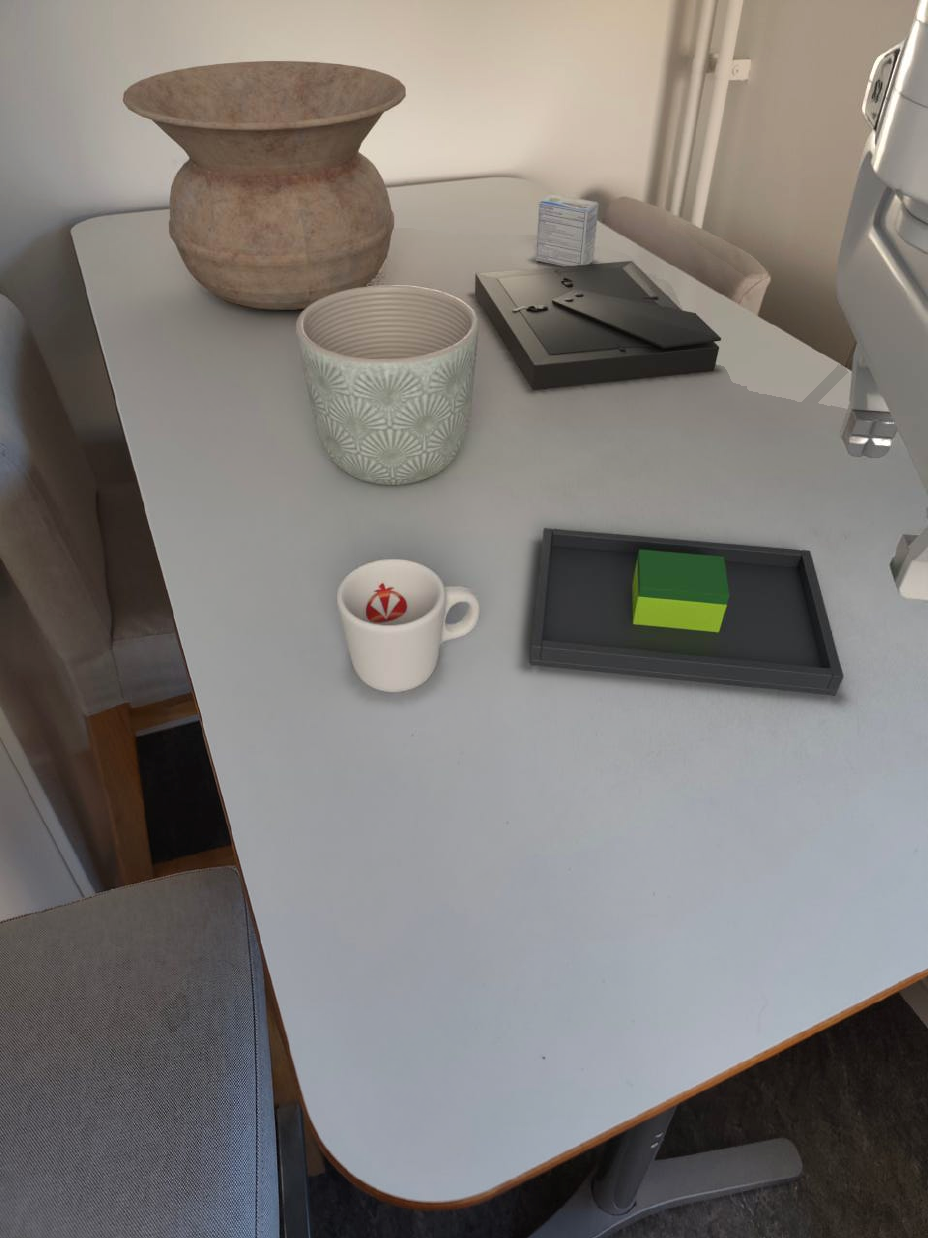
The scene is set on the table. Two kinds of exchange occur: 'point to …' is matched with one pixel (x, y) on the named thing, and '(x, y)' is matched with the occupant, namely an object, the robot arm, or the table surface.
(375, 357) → the planter
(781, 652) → the tray
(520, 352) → the picture frame
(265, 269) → the pot
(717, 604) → the sponge
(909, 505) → the table surface
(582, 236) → the medicine box
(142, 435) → the table surface
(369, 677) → the cup
